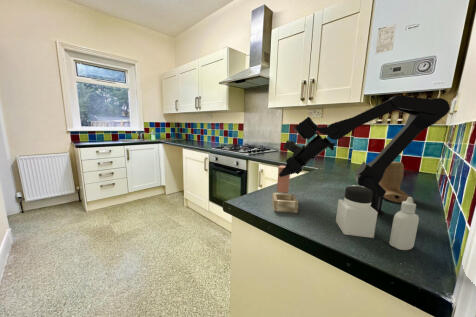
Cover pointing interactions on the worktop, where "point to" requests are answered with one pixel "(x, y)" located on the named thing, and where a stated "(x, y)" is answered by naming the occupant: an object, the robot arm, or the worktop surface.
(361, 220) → the medicine bottle
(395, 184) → the brown angle bracket
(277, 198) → the birch collar
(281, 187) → the red peg
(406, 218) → the eye dropper bottle
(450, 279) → the worktop surface
